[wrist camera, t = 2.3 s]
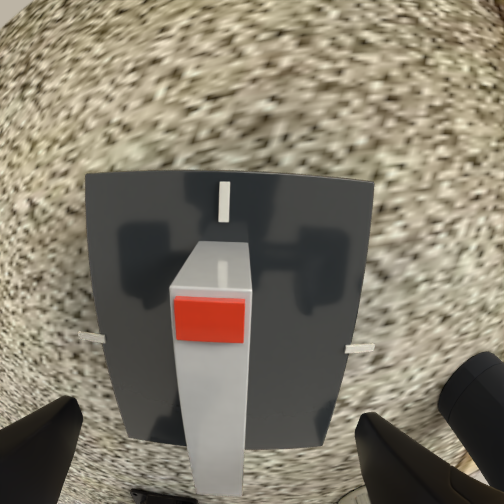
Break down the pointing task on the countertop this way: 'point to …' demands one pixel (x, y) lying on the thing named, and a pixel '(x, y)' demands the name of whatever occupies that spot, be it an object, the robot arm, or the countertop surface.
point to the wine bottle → (478, 413)
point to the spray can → (356, 497)
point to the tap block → (263, 286)
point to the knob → (213, 361)
